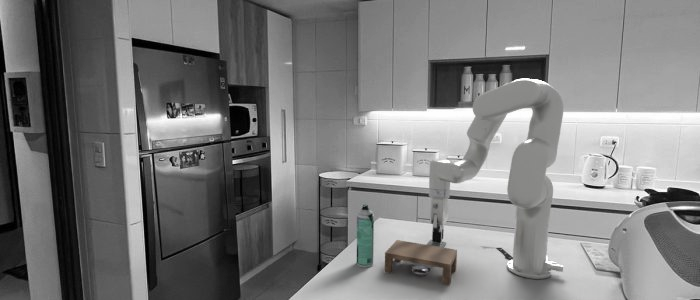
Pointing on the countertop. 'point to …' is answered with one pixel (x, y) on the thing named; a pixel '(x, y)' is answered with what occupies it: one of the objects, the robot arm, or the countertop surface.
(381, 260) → the countertop surface
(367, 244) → the spray can
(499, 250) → the cleaver
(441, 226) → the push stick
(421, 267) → the disc
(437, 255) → the walnut bench
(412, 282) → the countertop surface
